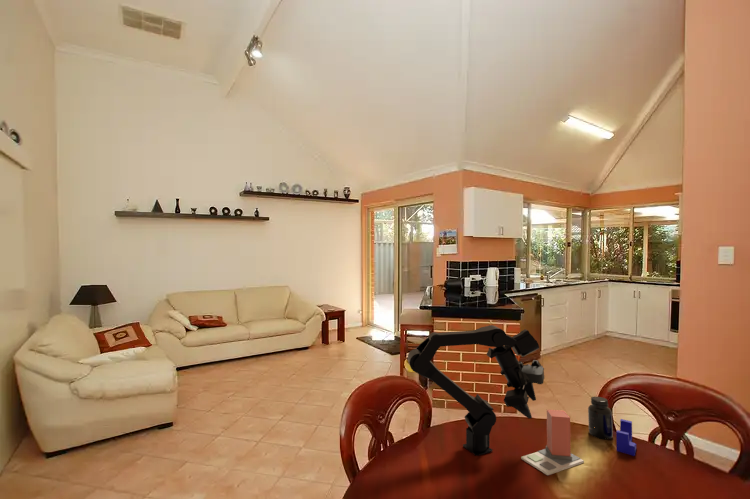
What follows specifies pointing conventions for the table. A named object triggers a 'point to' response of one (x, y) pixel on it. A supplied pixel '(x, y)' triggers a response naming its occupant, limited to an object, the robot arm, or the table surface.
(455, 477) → the table surface
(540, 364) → the robot arm
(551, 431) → the salmon block on plinth
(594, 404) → the supplement bottle
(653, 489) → the table surface
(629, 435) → the blue cradle bracket
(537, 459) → the panel board
